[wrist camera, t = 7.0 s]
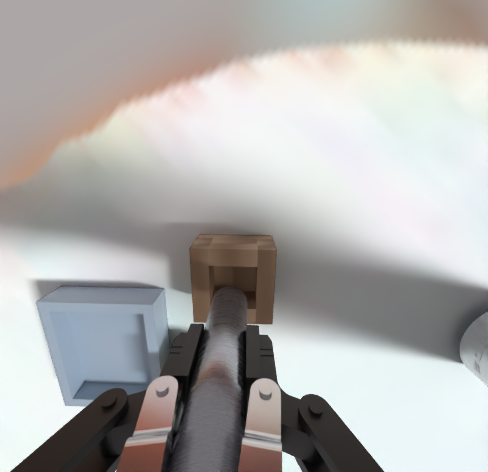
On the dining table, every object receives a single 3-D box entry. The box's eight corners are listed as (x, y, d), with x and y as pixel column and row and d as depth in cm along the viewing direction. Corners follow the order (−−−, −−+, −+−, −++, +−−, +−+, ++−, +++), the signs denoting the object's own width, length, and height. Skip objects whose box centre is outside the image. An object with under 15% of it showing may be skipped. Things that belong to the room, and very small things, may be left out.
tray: (164, 288, 24) (152, 304, 21) (173, 384, 28) (164, 409, 25) (61, 286, 24) (35, 302, 22) (83, 381, 28) (65, 405, 25)
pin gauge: (247, 287, 17) (247, 555, 5) (246, 317, 17) (244, 610, 6) (211, 286, 17) (132, 551, 5) (212, 316, 17) (145, 606, 6)
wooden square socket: (271, 235, 22) (276, 250, 18) (268, 299, 24) (272, 324, 21) (199, 234, 22) (189, 248, 19) (202, 297, 24) (193, 322, 21)
